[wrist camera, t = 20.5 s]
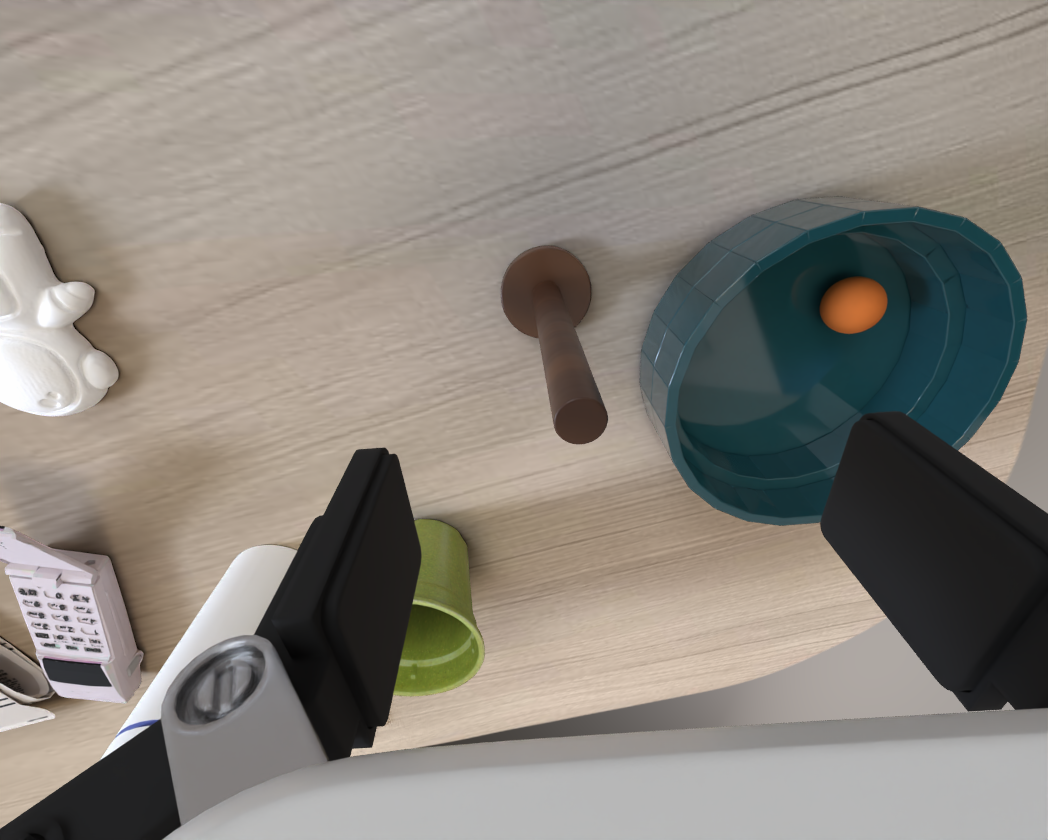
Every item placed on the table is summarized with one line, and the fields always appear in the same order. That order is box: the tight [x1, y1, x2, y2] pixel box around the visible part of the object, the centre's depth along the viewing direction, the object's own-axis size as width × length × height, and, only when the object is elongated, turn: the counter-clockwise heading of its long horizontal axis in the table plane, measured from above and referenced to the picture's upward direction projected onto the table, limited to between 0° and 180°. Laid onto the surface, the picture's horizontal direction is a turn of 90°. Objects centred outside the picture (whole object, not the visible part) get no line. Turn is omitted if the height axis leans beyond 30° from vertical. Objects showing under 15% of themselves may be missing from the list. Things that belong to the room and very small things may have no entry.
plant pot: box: [393, 519, 485, 696], centre depth 32 cm, size 9×9×9 cm
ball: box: [820, 277, 888, 334], centre depth 25 cm, size 3×3×3 cm
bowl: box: [640, 196, 1027, 526], centre depth 26 cm, size 17×17×6 cm
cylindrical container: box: [100, 545, 297, 760], centre depth 26 cm, size 7×7×25 cm
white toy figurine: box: [0, 203, 119, 416], centre depth 25 cm, size 9×12×3 cm
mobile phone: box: [0, 526, 143, 703], centre depth 35 cm, size 6×6×25 cm
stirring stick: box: [501, 246, 608, 444], centre depth 20 cm, size 5×5×15 cm
